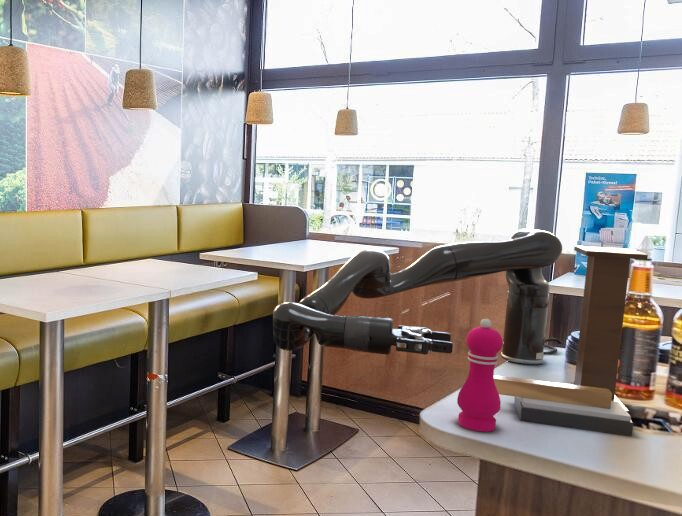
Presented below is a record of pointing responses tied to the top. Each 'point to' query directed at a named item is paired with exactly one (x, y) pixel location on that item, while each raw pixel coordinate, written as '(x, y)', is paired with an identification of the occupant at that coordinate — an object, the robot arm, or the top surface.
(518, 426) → the top surface
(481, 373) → the pepper mill
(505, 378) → the beech stick
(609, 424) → the scale
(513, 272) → the robot arm
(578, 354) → the stand
